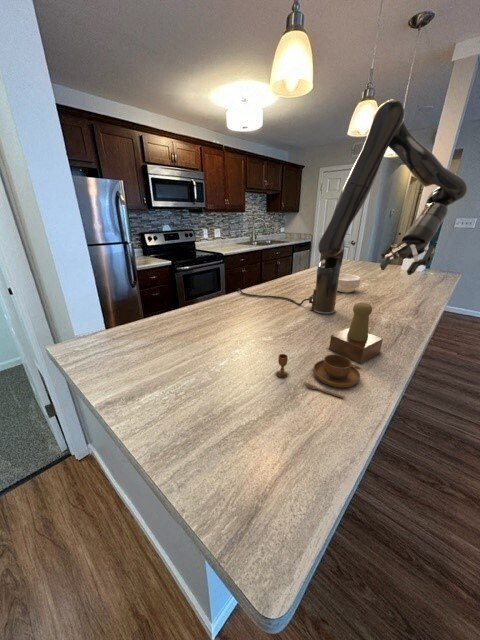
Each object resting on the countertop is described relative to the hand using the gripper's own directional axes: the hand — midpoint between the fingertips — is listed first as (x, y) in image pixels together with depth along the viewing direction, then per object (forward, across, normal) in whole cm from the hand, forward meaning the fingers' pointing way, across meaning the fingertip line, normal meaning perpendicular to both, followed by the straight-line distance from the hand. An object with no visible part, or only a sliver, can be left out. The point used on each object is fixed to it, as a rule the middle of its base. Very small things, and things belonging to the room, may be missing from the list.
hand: (394, 270), depth 85 cm
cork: (+25, +2, +1) cm, 25 cm away
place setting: (+42, +4, -8) cm, 43 cm away
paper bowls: (-11, -44, +45) cm, 64 cm away
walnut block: (+29, +1, +5) cm, 29 cm away
